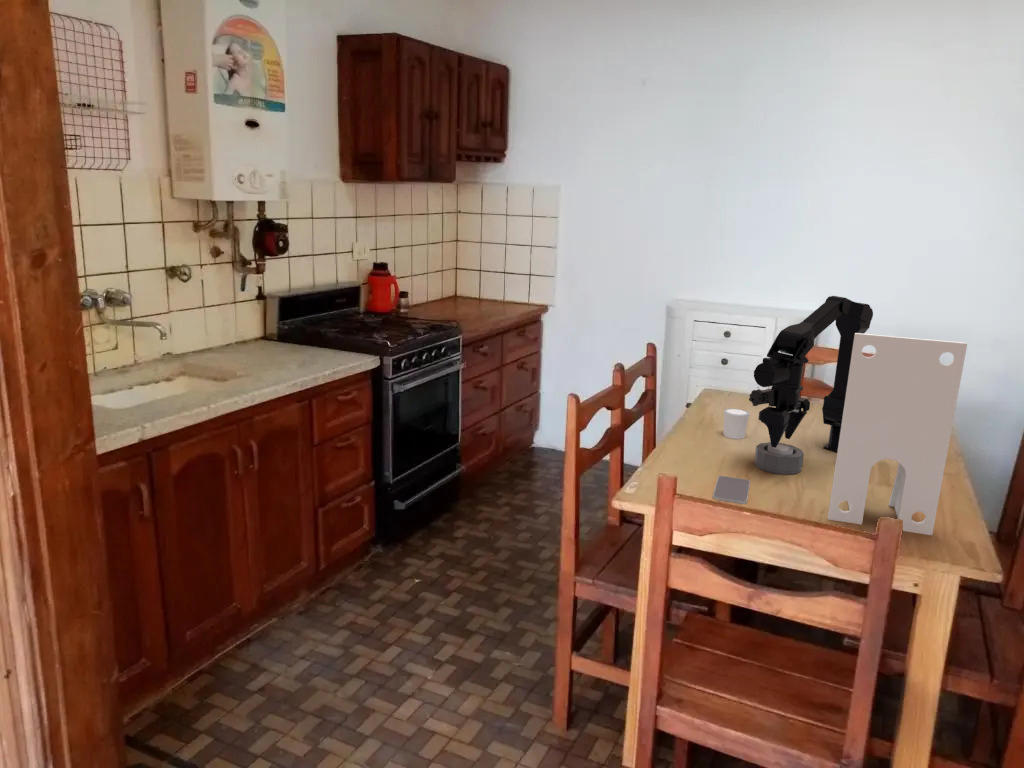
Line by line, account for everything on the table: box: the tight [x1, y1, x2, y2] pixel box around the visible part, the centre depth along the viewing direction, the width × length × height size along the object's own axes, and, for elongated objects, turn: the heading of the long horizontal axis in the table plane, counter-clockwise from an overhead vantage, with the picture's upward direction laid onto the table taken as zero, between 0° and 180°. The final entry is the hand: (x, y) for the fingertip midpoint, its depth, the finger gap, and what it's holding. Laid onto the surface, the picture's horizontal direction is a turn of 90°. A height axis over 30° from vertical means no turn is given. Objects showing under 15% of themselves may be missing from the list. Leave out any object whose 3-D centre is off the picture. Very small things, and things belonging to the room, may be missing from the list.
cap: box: [767, 444, 793, 455], centre depth 200 cm, size 6×6×4 cm
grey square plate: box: [712, 475, 751, 505], centre depth 185 cm, size 7×1×15 cm
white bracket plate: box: [827, 333, 968, 536], centre depth 169 cm, size 20×14×40 cm
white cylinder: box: [723, 408, 750, 440], centre depth 224 cm, size 7×7×7 cm
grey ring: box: [754, 441, 805, 476], centre depth 200 cm, size 11×11×4 cm
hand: (780, 442), depth 199 cm, fingers open, 9 cm apart
